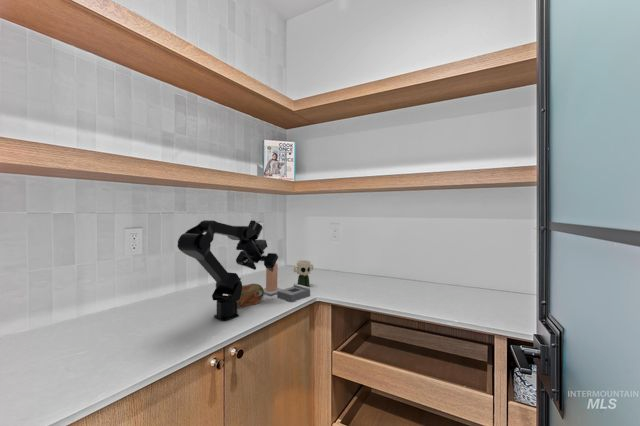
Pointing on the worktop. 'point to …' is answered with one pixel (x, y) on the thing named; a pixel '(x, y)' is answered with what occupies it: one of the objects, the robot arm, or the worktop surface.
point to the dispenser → (294, 293)
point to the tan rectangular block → (271, 279)
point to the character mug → (303, 272)
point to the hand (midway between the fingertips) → (264, 269)
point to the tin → (250, 295)
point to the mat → (271, 292)
